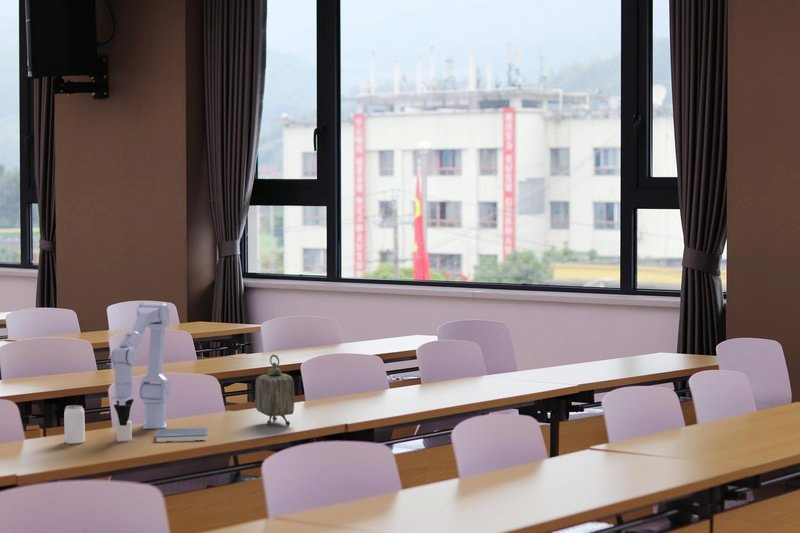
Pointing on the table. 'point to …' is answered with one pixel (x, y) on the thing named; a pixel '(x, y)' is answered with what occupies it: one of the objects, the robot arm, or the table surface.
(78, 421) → the can
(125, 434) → the block
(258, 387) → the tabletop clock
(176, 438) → the notebook
